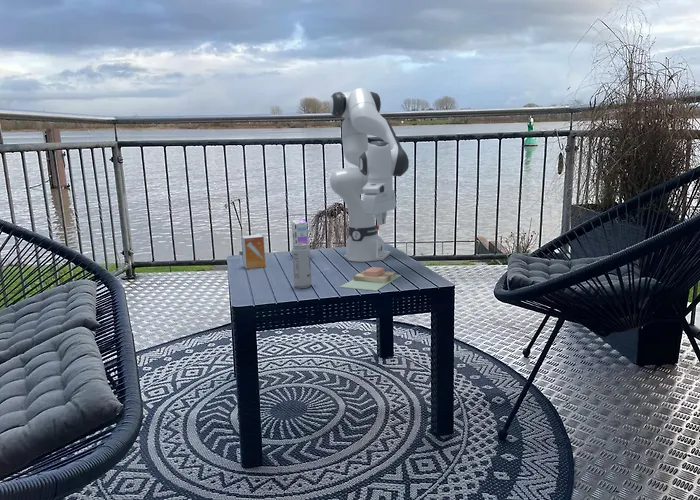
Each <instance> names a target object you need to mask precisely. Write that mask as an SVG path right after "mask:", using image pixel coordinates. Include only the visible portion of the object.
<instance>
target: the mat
mask: <svg viewBox="0 0 700 500" xmlns="http://www.w3.org/2000/svg"><path fill="white" fill-rule="evenodd" d="M400 277H402V274H396V277H394V278H393V279H391V280H389V281H388V282H386V283H375V282H364V281H354V278H353V279H352V280H349V281H347V282H346V283H344V284H342V285H340V286H339V289H341V288H342V289H352V290H360V291H361V290H363V291H371V292H373V291H374V292H377V291H379V290H380V289H383V288H384V287H386V286H387V285H389V284H390V283H392V282H394V281H395V280H398V279H399V278H400Z"/></svg>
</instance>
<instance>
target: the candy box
mask: <svg viewBox="0 0 700 500" xmlns="http://www.w3.org/2000/svg"><path fill="white" fill-rule="evenodd" d="M290 222H291V233H292V247H294V244H299V243H306V244H308V247H309V248H310V245H309V244H310V243H309V241H310V240H309V224H308V222H307V221H306V220H304V219H293V220H291V221H290Z"/></svg>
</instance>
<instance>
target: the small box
mask: <svg viewBox="0 0 700 500" xmlns="http://www.w3.org/2000/svg"><path fill="white" fill-rule="evenodd" d="M241 248H242V251H241V252H242V263H243V267H244V268H245V269H246V270H250V269H257V268H258V269H259V268H266V252H265V238H264V236H263V235H262V234H254V235H252V234H251V235H244V236H243V235H242V236H241Z"/></svg>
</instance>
